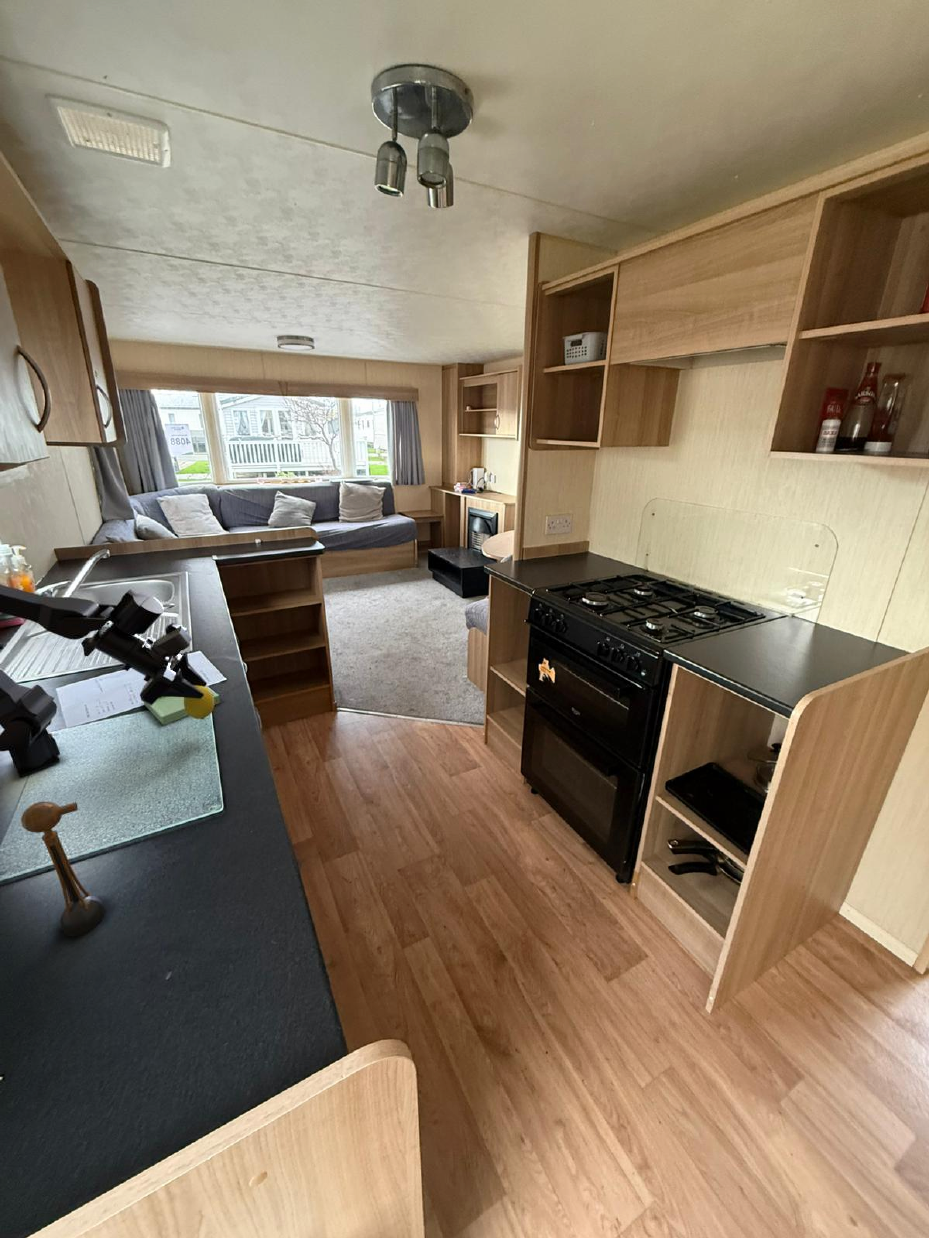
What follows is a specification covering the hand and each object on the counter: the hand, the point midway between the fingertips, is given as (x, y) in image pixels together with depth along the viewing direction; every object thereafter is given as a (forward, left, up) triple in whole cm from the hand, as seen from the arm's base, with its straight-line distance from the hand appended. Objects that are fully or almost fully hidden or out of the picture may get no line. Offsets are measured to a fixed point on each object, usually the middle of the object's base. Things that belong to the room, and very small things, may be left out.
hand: (204, 690), depth 103 cm
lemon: (-1, +1, -7) cm, 7 cm away
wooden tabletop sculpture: (-30, -30, -11) cm, 44 cm away
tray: (0, +19, -11) cm, 22 cm away
